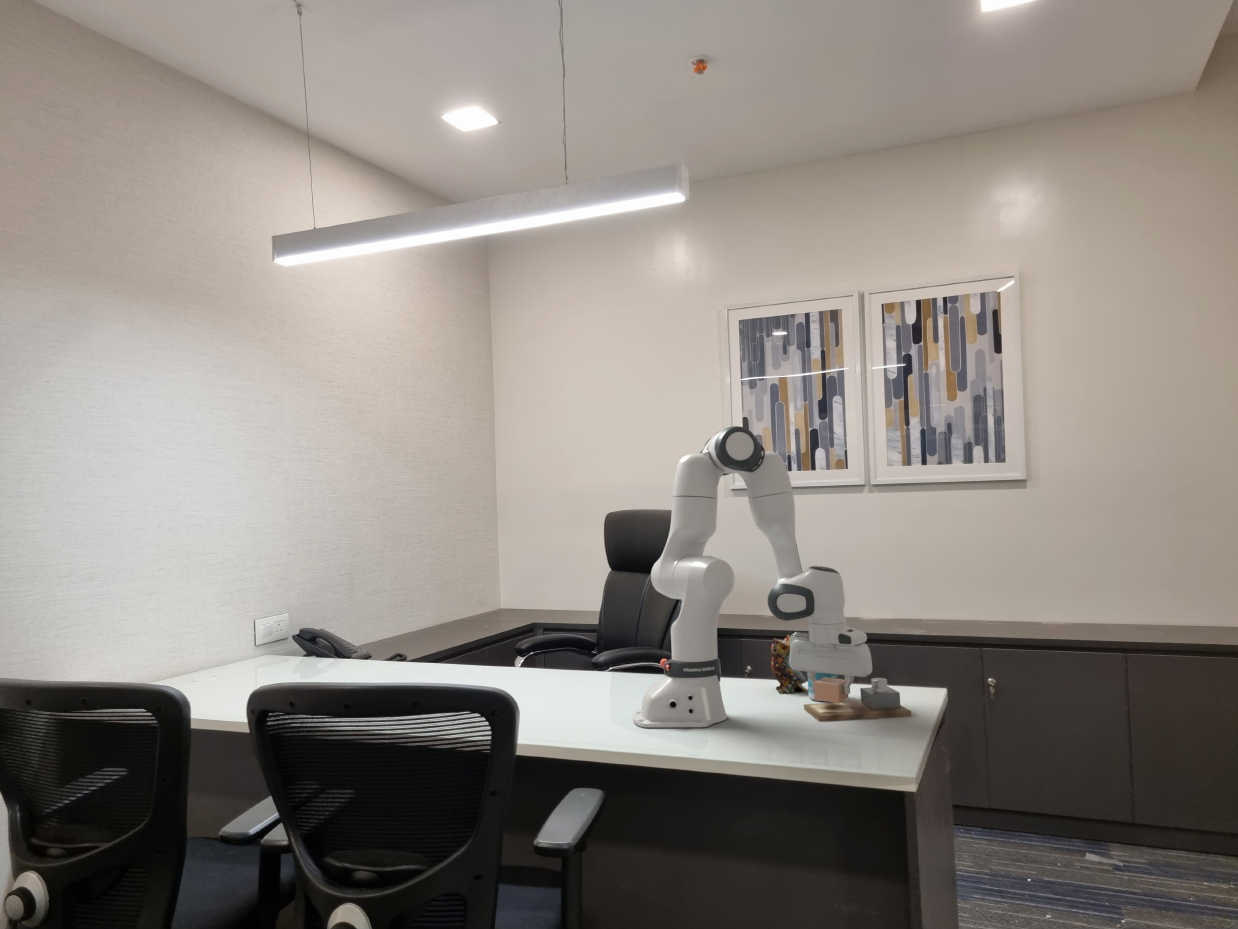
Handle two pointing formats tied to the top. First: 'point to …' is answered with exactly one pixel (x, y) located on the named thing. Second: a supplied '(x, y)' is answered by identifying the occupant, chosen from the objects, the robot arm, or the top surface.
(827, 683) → the salmon pink block
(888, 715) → the board
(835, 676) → the pill bottle
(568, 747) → the top surface
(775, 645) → the figurine
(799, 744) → the top surface
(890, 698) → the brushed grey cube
